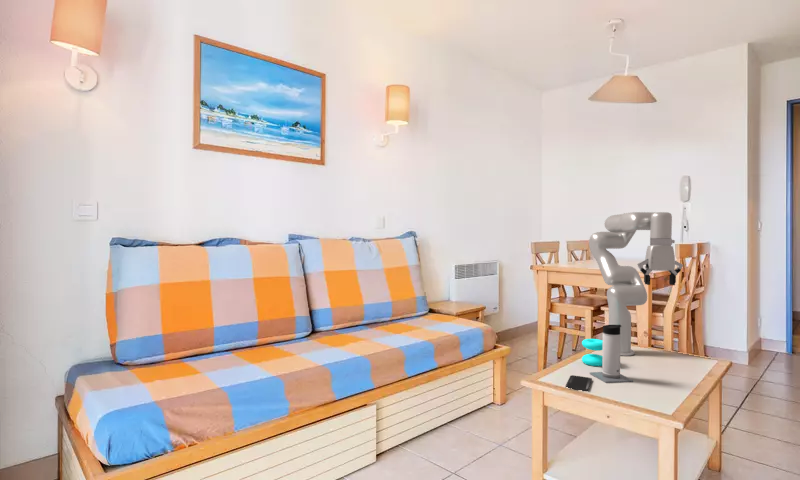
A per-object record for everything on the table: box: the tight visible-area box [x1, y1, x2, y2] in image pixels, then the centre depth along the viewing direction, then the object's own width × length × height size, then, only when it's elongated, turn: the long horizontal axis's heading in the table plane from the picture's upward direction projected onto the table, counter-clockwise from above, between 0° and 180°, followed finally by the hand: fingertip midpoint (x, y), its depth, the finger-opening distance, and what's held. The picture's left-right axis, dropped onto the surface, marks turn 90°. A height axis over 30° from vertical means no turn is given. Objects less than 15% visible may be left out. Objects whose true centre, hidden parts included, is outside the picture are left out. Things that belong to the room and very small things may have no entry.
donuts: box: [581, 338, 603, 367], centre depth 196 cm, size 10×10×10 cm
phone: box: [565, 375, 593, 392], centre depth 170 cm, size 8×1×15 cm
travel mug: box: [601, 324, 621, 378], centre depth 177 cm, size 6×7×20 cm
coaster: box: [589, 371, 634, 384], centre depth 177 cm, size 11×11×1 cm
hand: (659, 284), depth 186 cm, fingers open, 9 cm apart
